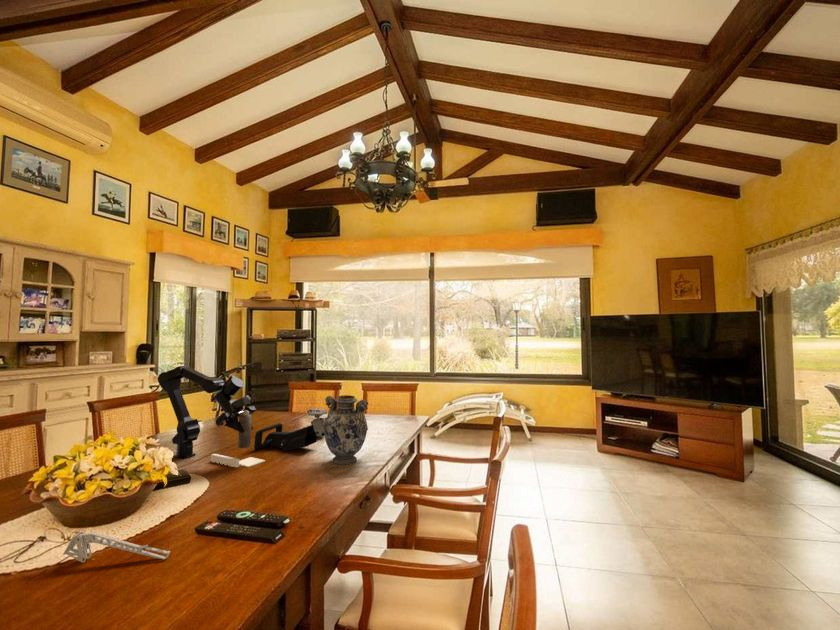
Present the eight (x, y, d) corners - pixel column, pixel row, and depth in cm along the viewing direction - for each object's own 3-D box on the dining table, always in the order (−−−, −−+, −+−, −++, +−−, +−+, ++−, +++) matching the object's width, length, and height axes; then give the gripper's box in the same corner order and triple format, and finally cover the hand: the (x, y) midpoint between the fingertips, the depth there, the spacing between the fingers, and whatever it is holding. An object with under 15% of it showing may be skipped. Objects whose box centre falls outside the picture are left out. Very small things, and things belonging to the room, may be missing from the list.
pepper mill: (236, 448, 168) (237, 411, 169) (241, 444, 173) (242, 408, 174) (247, 448, 168) (249, 411, 169) (252, 445, 173) (253, 409, 174)
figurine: (307, 434, 221) (308, 406, 222) (328, 435, 221) (329, 407, 222) (302, 438, 212) (303, 409, 213) (324, 439, 212) (325, 410, 212)
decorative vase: (376, 457, 183) (377, 395, 184) (356, 470, 166) (357, 401, 167) (334, 451, 190) (335, 392, 191) (311, 464, 173) (313, 398, 174)
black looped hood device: (305, 447, 182) (295, 415, 184) (257, 465, 188) (248, 434, 191) (325, 438, 198) (315, 408, 200) (280, 455, 205) (271, 426, 207)
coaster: (233, 463, 170) (233, 462, 170) (250, 457, 178) (250, 457, 178) (248, 467, 166) (248, 466, 166) (265, 461, 174) (265, 460, 174)
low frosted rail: (211, 461, 172) (211, 454, 172) (214, 460, 173) (214, 453, 174) (236, 467, 166) (236, 460, 166) (239, 466, 167) (239, 459, 167)
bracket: (72, 548, 99) (93, 511, 100) (152, 586, 100) (173, 548, 101) (62, 555, 96) (84, 517, 97) (145, 594, 97) (166, 555, 98)
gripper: (222, 393, 164) (244, 422, 160) (253, 387, 182) (273, 414, 178) (205, 411, 165) (227, 441, 162) (237, 404, 183) (257, 430, 180)
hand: (247, 430), depth 170 cm, fingers closed on pepper mill, 5 cm apart
